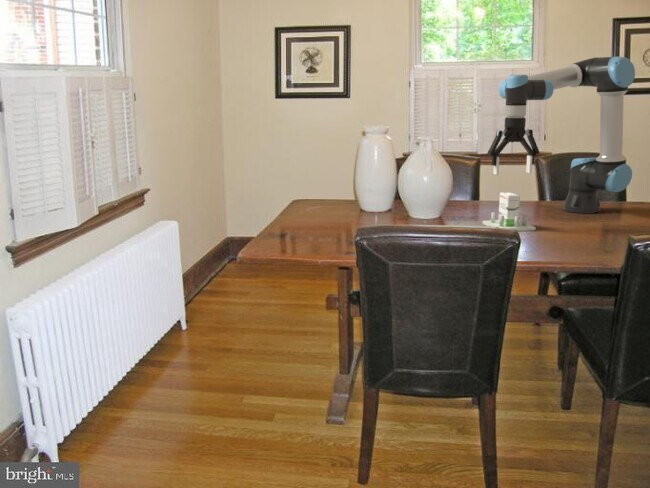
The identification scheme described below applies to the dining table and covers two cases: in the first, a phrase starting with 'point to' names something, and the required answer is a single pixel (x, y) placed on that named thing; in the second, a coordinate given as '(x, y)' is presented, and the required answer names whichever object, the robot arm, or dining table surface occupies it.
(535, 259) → the dining table surface
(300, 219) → the dining table surface
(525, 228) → the pin tray
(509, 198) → the ink box
